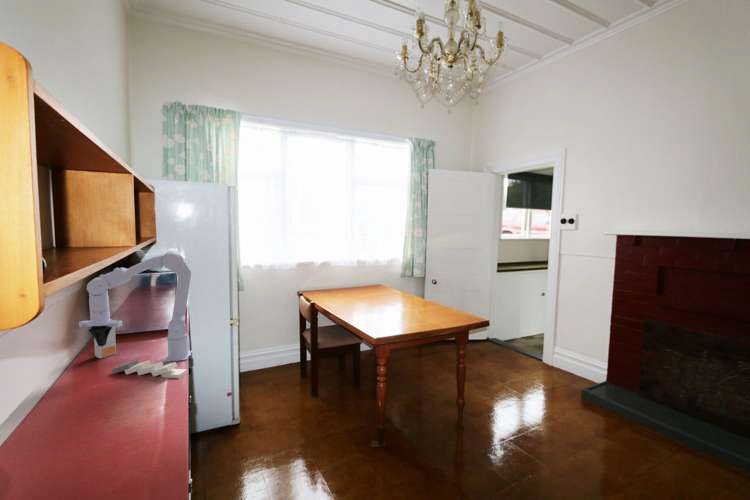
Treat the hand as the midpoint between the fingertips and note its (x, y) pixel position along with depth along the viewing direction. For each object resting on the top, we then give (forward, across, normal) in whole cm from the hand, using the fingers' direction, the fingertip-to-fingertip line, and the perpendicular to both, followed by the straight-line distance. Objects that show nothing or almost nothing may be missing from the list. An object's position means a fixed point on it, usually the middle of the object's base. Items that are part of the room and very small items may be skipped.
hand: (102, 345), depth 127 cm
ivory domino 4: (+10, -25, +3) cm, 27 cm away
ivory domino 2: (+9, -16, +2) cm, 18 cm away
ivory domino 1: (+9, -11, +1) cm, 14 cm away
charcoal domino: (+9, -6, 0) cm, 11 cm away
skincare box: (+10, +10, -14) cm, 20 cm away
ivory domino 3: (+9, -22, +3) cm, 24 cm away
